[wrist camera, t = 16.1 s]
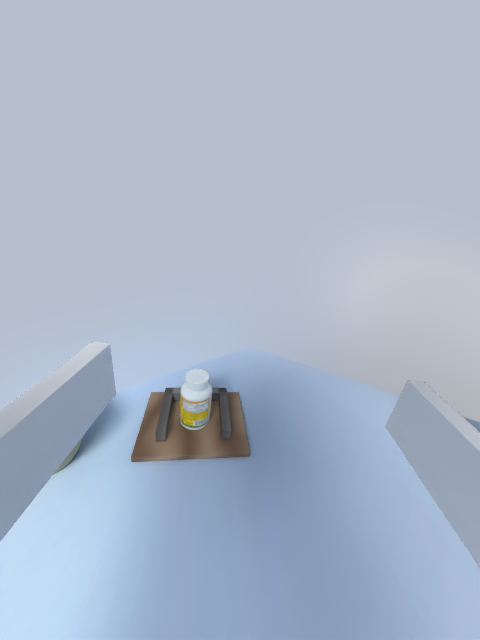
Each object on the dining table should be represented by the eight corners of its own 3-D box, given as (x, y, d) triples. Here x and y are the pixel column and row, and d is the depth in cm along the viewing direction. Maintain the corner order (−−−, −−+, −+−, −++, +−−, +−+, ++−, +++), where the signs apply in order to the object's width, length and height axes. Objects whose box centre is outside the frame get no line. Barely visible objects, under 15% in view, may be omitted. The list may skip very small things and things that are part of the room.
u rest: (238, 396, 50) (239, 385, 49) (249, 456, 38) (251, 443, 36) (151, 396, 47) (151, 384, 46) (131, 461, 35) (130, 447, 33)
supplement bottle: (201, 435, 39) (204, 390, 35) (173, 425, 40) (174, 380, 36) (214, 413, 44) (218, 371, 40) (189, 404, 45) (191, 363, 41)
